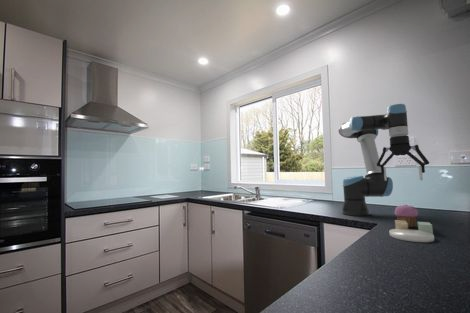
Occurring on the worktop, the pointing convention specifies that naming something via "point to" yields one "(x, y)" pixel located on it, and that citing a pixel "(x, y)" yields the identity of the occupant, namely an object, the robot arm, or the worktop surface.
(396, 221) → the beech brick
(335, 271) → the worktop surface
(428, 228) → the sage block
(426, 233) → the plate
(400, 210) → the cupcake
